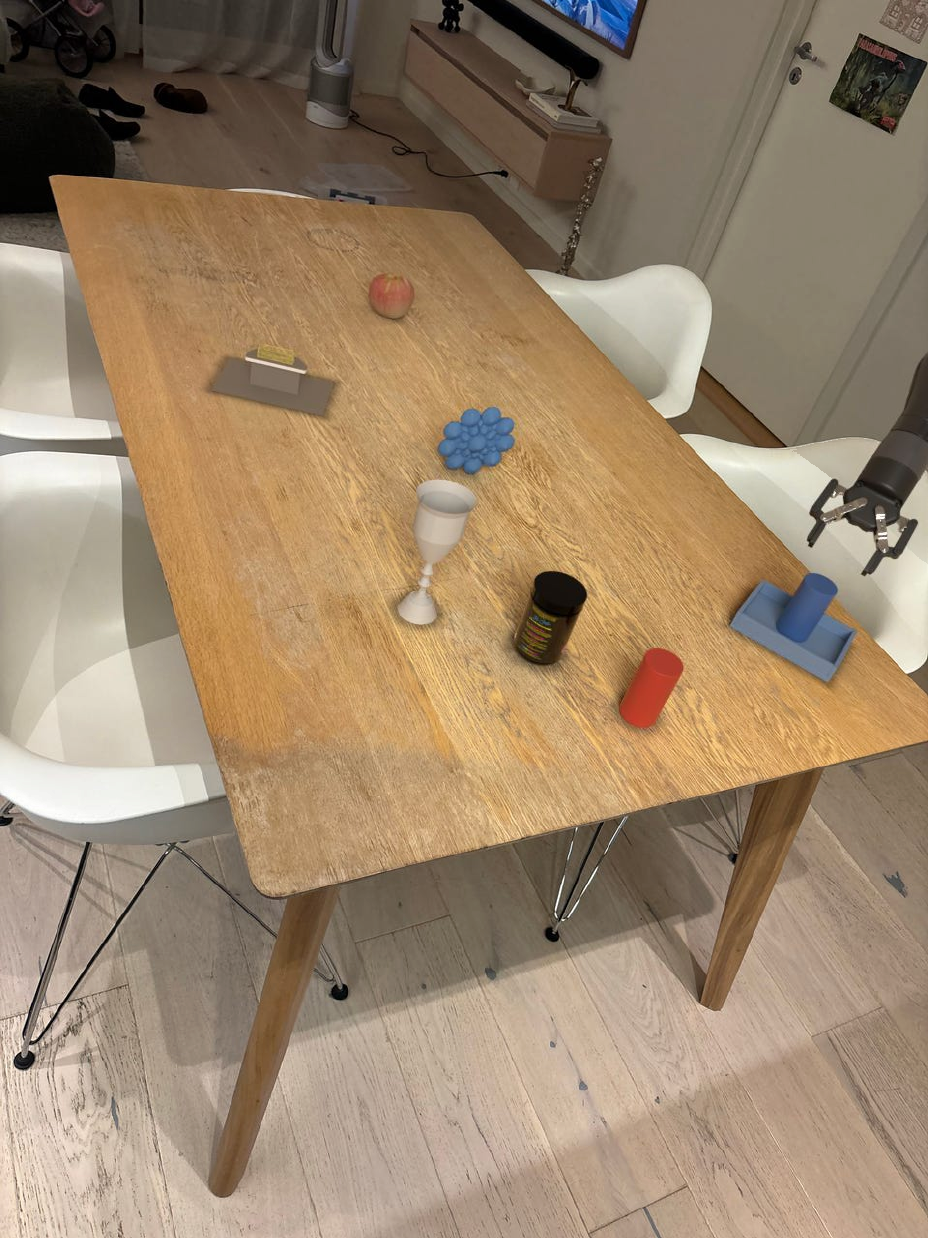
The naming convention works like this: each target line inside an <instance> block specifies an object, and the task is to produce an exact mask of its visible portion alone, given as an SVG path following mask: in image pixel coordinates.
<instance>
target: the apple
mask: <svg viewBox="0 0 928 1238" xmlns="http://www.w3.org/2000/svg"><path fill="white" fill-rule="evenodd" d="M414 299H415V289H414V285H413V284H412V282H411V280H410V279H409V278H408V277H406V276H404V275H402V274H400V273H399V274H398V273H394V272H385V273H380V274H378V275H376V276H375V277H374V278H372V280H371V282H370V284H369V287H368V300H369V303H370V306H371V308H372V309H373V310H374V311H375V312H376V313H377V314H378V315H380V316H382V317H385V318H386V319H387V318H388V319H392V320H398V319H400V318H403V317H404V316H405V315H407V313H408V312H409V311H410V309H411V307H412V305H413V303H414Z"/></svg>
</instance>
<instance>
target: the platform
mask: <svg viewBox="0 0 928 1238" xmlns="http://www.w3.org/2000/svg"><path fill="white" fill-rule="evenodd" d="M266 346H267V347H268V348H267V347H266ZM274 348H275V349H276V350H275V349H274ZM282 350H283V351H284V352H283V351H282ZM290 352H291V353H292V354H291V353H290ZM295 354H296V351H295V350H292V349H287V348H283V347H278V346H275V345H269V344H266V343H259V345H258V347H257V348H255V349H252V350H250V351H248V352H246V353H245V356H244V360H245V361H243V360H242V361H241V360H238V359H234V358H229V359H228V360H227V362H226V364H225V366H224V368H223V369H222V371H221V372H220V374H219V376H218V377H217V379H216V381H215V383H214V384H213V387H212V388H211V390H210V391H211V392H215V393H221V394H225V395H229V396H233V397H238V398H243V399H247V400H250V401H255V402H259V403H264V404H268V405H273V406H276V407H281V408H285V409H290V410H294V411H299V412H303V413H307V414H312V415H316V416H320V417H323V416H324V413H325V410H326V408H327V404H328V402H329V399H330V396H331V393H332V390H333V388H334V385H335V382H332V381H327V380H323V379H319V378H315V377H310V376H306V375H302V374H307V372H308V366H307V364H305V363H304V361H303V360H301V358H300V357H297V356H295ZM246 361H247V362H246Z"/></svg>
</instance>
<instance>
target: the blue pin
mask: <svg viewBox="0 0 928 1238" xmlns="http://www.w3.org/2000/svg"><path fill="white" fill-rule="evenodd" d="M838 592H839V589H838V586H837V584H836V583H835V582H834V581H833V580H831V579H830V578H829V577H827V576H825V575H823V574H820V573H817V572H808V573H806V574H805V575H804V577H803V578H802V580H801V582H800V583H799V585H798V586H797V587H796V590H795V592H794V593H793V594H792V595H793V597H792V598H791V600H790V602H789V603H788V605H787V607H786V608H785V610H784V611H783V613H782V615H781V616H780V618H779V620H778V621H777V623H776V628H777V630H778V632H779V633H780V634H782V635H783V636H785V637H787V638H789V639H790V640H792V641H794V642H797V643H802V642H805V641H807V639H808V638H809V636H810V635H811V633H812V631H813V630H814V628H815V627H816V625H817V624H818V622H819V621H820V619H821V618H822V616H823V614H824V613H825V614H826V611H827V610H828V608H829V607H830V606H831V603H832V602H833V600H834V599H835V597H836V596H837V594H838Z"/></svg>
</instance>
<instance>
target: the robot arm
mask: <svg viewBox="0 0 928 1238" xmlns="http://www.w3.org/2000/svg"><path fill="white" fill-rule="evenodd" d="M927 469H928V351H927V352H926V353H925V354H924V355H923V356H922V358H921V359H920V360H919V362H918V363H917V365H916V367H915V369H914V371H913V374H912V377H911V379H910V384H909V388H908V391H907V394H906V397H905V400H904V404H903V409H902V411H901V412H900V414H899V416H898V417H897V419H896V421H895V422H894V424H893V425H892V427H891V429H890V430H889V431H888V433H887V435H885V437H884V438H883V439H882V441H880V443H879V444H878V446H877V447H876V448H875V450H874V452H873V453H872V455H871V457H870V458H869V459H868V461H867V463H866V464H865V466H864V468H863V469H862V471H861V472H860V474H859V475H858V477H857V478H856V480H855V482H854V483H853V485H851V486H850V487H849V488H846V487H845V486H843V485H841V484H840V483H839V480H838V479H837V478H831V479H830V480H829V482H828V483H827V484H826V486H825V487H824V489H823V490H822V492H821V493H820V494H819V496H818V497H817V498H816V499H815V501H814V502H813V504H812V505H811V507H810V508H809V512H808V514H809V516H810V517H811V518H813V519H814V520H815V523H814V525H813V526H812V528H811V530H810V531H809V533H808V535H807V536H806V542H807V543H808V545H807V547H809V548H810V549H813V548H814V545H815V544H816V542H817V541H818V540H819V538H820V536H821V535H822V533H823V531H824V530H825V528H826V526H827V525H829V524H833V523H837V522H839V521H842V520H845V519H846V521H847V524H850V525H851V526H855V527H858V528H859V529H860V530H862V531H863V532H865V533H868V532H869V533H872V537H873V542H874V545H875V546H874V547H875V551H874V552H873V554H872V555H871V556H870V559H869V560H868V562H867V563H866V565H865V566H864V568H863V570H862V571H861V573H860V575H861V576H863V577H866V576H867V575H870V576H871V575H872V574H874V572H876V570H877V568H878V567H879V565H880V564H881V562H882V560H883V559H884V558H890V559H892V560H898V559H899V558H900V556H902V554H903V553H904V551H905V549H906V547H907V545H908V544H909V542H910V539H912V536H913V535H914V533H915V530H916V529H917V527H918V524H919V520H918V519H916V518H910V519H909V518H907V517H906V516H905V517H904V516H902V515H901V510H902V508H903V506H904V505H905V503H906V502H907V500H908V499H909V497H910V495H911V494H912V492H913V490H914V489H915V487H916V486H917V484H918V483H919V482H920V480H921V479H922V477H923V475H924V473H925V472H926V470H927ZM838 496H842V503H843V504H842V505H840V506H837V507H835V508H834V509H832V510H829V511H827V512H824V511H823V510H822V508H823V507H824V506H825V505H826V504H827V503H828V500H829V499H830V498H831V499H836V498H838ZM895 524H897V525H898V527H897V528H898V529H897V530H898V532H899V534H900V535H899V538H898V539H897V541H896V542H895V544H894V546H890V545H889V541H888V529H887V527H889V526H892V525H895Z"/></svg>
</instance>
